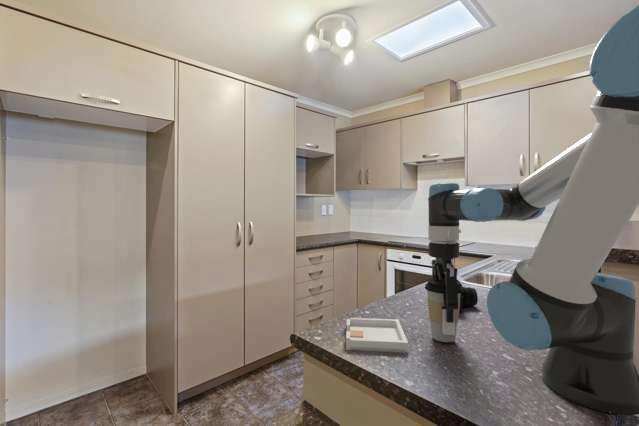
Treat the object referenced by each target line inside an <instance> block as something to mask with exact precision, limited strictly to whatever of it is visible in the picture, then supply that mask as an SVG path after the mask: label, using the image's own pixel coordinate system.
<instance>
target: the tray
mask: <svg viewBox="0 0 639 426" xmlns="http://www.w3.org/2000/svg"><path fill="white" fill-rule="evenodd" d="M345 336H346V337H345V348H346V349H345V350H346V351H361V352H383V353H385V352H386V353H403V354H405V353H406V354H408V353H409V341H408V339H407V337H406V335H405V332H404V330H403V327H402V325H401V322H400V320H399V319H396V318H395V319H391V318H367V317H366V318H364V317H350V318H346V333H345Z"/></svg>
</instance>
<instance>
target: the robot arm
mask: <svg viewBox="0 0 639 426" xmlns="http://www.w3.org/2000/svg"><path fill="white" fill-rule="evenodd" d="M588 69H589V75H590V76H591V77H592V79H591V82H592V83H593V85H594V86H595V88H596V89H597V91H596V93H595V95H594V98H593V100H592V102H591V104H590V106H589V109H590V111H592V114H593V115H594V117H595V119H596V120H595V121H596V122H595V125H594V127H593V129H592V131H591V132H590V133H588V134H587V135H586V136H585V137H583V138H581V139H580V140H578V141H577V142H576V143H575V144H573V145H571V146H570V147H568V148H567V149H565V150H564V151H563V152H561V153H560V154H558V155H557V156H555V157H554V158H553V159H551V160H550V161H549V162H547V163H545V164H544V165H543V166H541V167H540V168H538V169H537V170H536V171H534V172H533V173H532V174H530V175H528V176H527V177H526V178H524V179H523V180H522V181H519V182H518V183H517V184H515V185H514V186H512V187H510V188H508V189H507V188H504V189H503V188H496V189H495V188H492V187H479V186H478V187H473V188H465V189H460V185H459V183H455V182H440V183H432V184H431V185H430V186H429V188H428V198H427V201H428V232H427V233H428V236H427V237H428V238H427V239H428V240H429V241H430V242H429V243H428V255H429V256H430V257H432V258H435V259H432V260H431V263H432V264H431V270H432V271H431V279H434V278H435V279H438V280H439V281H440V282H441V283H442V285H445V287H446V289H445V288H444V287H443V290H446V294H443V301H444V306H442V307H441V309H443V334H445V335H455V309H458V292H457V280H458V268H456V267H454V264H453V261H452V260H453V259H457V258H459V257H460V244H459V243H458V242H459V241H460V233H462V230H461V229H460V221H468V222H476V223H480V222H481V223H486V222H493V221H495V222H496V221H520V222H521V221H522V222H524V221H530V220H535V219H538V218H539V217H541V216H542V215H543V213H544V212H545V210H546V207H547V206H548V205H550V204H552V203H554V202H556V201H557V204H556V206H555V208H554V210H553V212H552V214H551V216H550V219H549V220H548V222H547V225H546V227H545V229H544V231H543V233H542V235H541V237H540V239H539V241H538V243H537V246H536V247H535V250H534V252H533V253H532V256H531V257H530V258H527V259H523V260H520V261H518V263H517V264H516V266H515V268H514V270H513V273H512V274H511V276H510V278H509V279H508V281H500V282H498V283H495V284H494V285H493V286H491V288H490V289H489V291H488V293H487V297H486V307H487V308H486V309H487V312H488V314H489V316H490V321H491V322H492V324H493V326H494V328H495V331H497V333H498V334H499V335H500V336H501V337H502V339H504V340H505V341H506V342H507V343H509V344H510V345H512V346H513V347H515V348H517V349H520V350H525V351H535V350H537V351H543V350H547V349H549V350H548V351H547V354H546V357H545V359H544V361H543V362H542V365H541V378H542V381H543V382H544V384H545V385H546V386H547V387H548V388H549V389H550V390H552V391H553V392H555V393H556V394H559V396H561V397H563V398H565V399H567V400H569V401H572V402H574V403H576V404H577V405H578V404H579V405H580V406H583V407H586V408H589V409H591V410H596V411H599V412H603V413H606V412H611V413H612V415H620V416H637V415H639V372H638V370H637V367H636V365H635V362H634V347H635V324H636V304H637V302H638V301H637V298H636V292H635V291H636V289H635V288H636V287H635V284H634V283H633V282H632V281H631V280H629V279H628V278H626V277H625V278H624V277H620V276H615V275H612V274H607V273H601V272H599V270H601V267H602V266H603V264H604V262H605V260H606V259H607V258H608V256H609V254H610V253H611V251H612V249H613V247H614V246H615V244H616V243H617V241H618V239H619V238H620V236H621V234H622V232H623V231H624V229H625V228H626V226H627V224H628V223H629V221H630V219H631V218H632V217H633V215H634V213H635V212H636V210H637V208H638V206H639V4H638V5H636V6H635V7H634V8H633V9H631V10H630V11H629V12H628V13H626V14H623V15H622V16H621V17H619V18H618V19H617V21H615V22H614V23H613V24H612V26H611V27H609V28H608V30H606V32H605V33H604V34H603V35H602V37H601V38H600V40H599V42H598V43H597V45H596V46H595V49H594V50H593V53H592V55H591V58H590V63H589V67H588ZM611 413H610V414H611Z"/></svg>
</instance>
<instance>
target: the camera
mask: <svg viewBox="0 0 639 426" xmlns="http://www.w3.org/2000/svg"><path fill="white" fill-rule="evenodd" d="M457 281H458V282H459V283H460V286H461V287H462V288H463V292H462V293H461V294H460V309H459V314H462V313H463V307H466V306H467V307H474V306H476V305H477V304H478V300H479V297H478V293H477V290H476V289H475V288H474V287H469V286H467V287H465V286H463V284H462V283H461V282H460V281H459V279H457Z"/></svg>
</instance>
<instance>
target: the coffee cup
mask: <svg viewBox="0 0 639 426" xmlns="http://www.w3.org/2000/svg"><path fill="white" fill-rule="evenodd" d="M458 281H459V280H458ZM458 281H457V292H458V309H455V335H445V334H443V309H441V307H442V306H444V301H443V294H446V290H443V287H444V288H445V289H446V287H445V285H442V283H441V282H440V281H439V280H438V279H435V278H434V279H432V278H430V279H427V283H425V286H424V289H425V290H426V292H427V296H426V297H427V298H426V300H427V308H428V315H429V316H428V317H429V323H430V330H431V331H430V333H431V337H432V339H434V340H435V341H436V342H437V341H438V342H441V343H454V342H455V341H456V339H457V337H456V336H457V329H458V327H457V326H458V323H459V318H460V313H459V309H460V294H461V293H462V292H463V288H462V287H463V286H462V287H461V286H460V283H461V282H460V281H459V282H460V283H459V282H458Z"/></svg>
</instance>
